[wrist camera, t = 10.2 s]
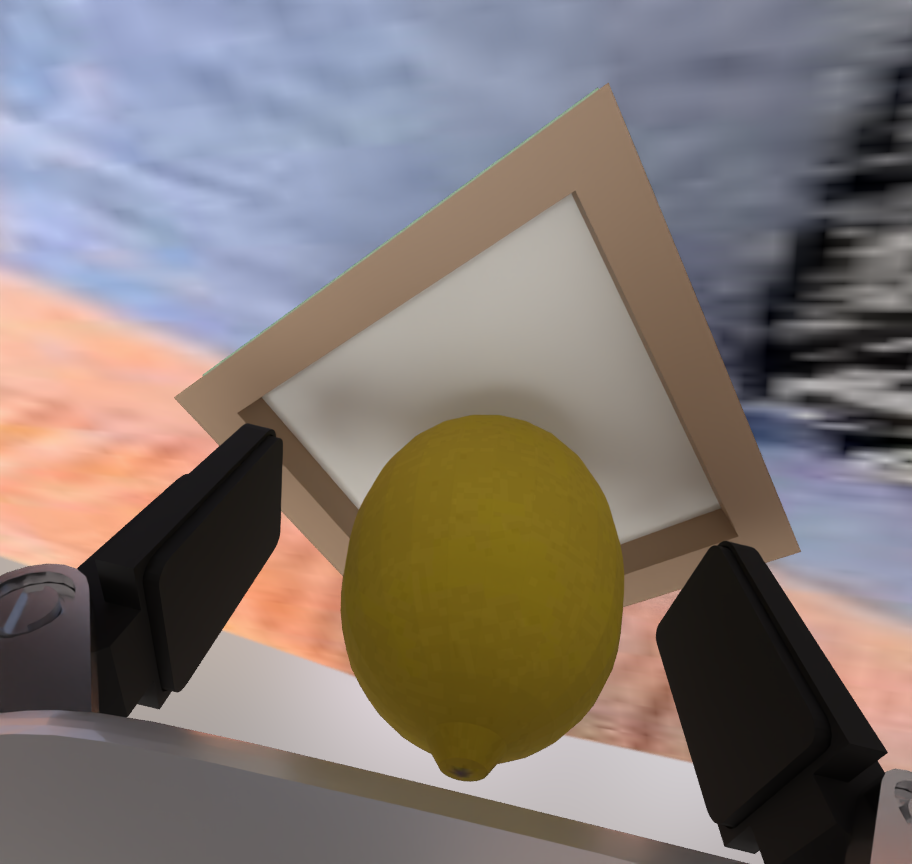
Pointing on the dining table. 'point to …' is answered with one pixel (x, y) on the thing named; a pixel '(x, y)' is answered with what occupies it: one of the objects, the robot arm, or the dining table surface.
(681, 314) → the stand
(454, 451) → the lemon
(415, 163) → the dining table surface
